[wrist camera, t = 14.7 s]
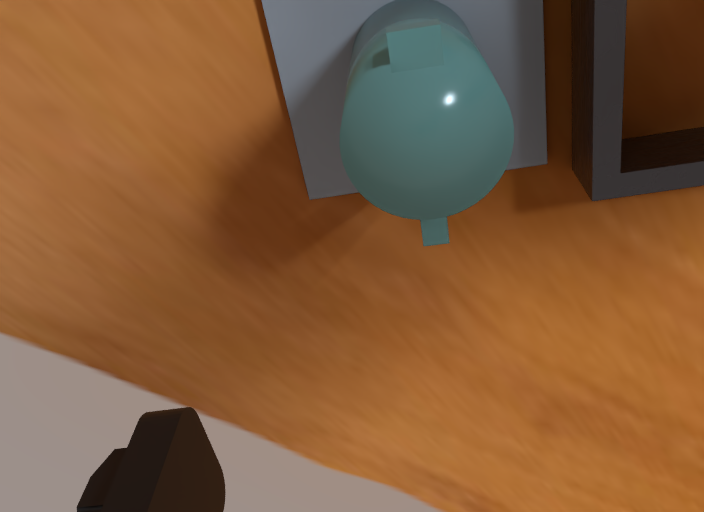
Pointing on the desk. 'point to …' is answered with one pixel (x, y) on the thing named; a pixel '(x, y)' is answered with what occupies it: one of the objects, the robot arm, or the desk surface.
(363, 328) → the desk surface
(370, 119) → the glazed jug
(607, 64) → the dark grey rectangular frame
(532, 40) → the slate grey mat
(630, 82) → the desk surface
